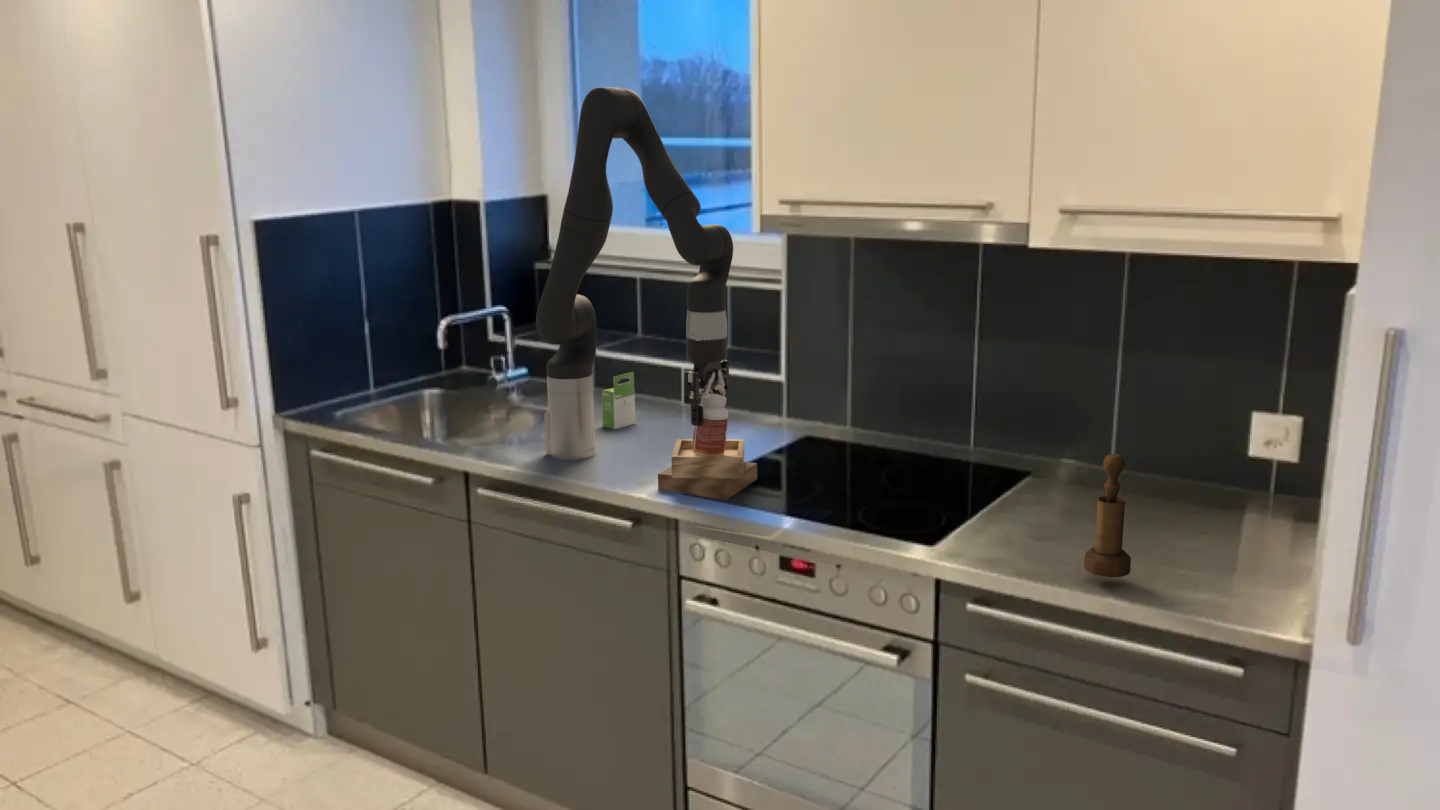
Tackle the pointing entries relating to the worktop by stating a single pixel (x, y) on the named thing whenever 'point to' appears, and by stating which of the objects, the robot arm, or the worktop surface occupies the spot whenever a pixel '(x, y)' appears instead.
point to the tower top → (708, 461)
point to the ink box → (619, 403)
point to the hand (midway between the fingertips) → (707, 420)
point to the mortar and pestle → (1109, 527)
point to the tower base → (708, 483)
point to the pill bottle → (711, 427)
